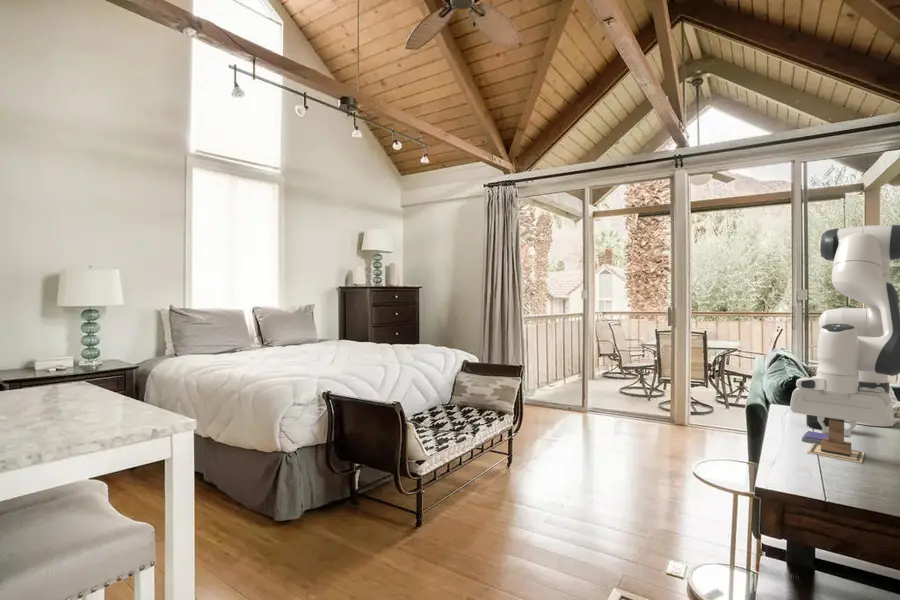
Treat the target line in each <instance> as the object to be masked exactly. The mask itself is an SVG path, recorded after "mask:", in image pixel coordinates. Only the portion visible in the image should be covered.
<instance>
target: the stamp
mask: <svg viewBox="0 0 900 600" xmlns="http://www.w3.org/2000/svg"><path fill="white" fill-rule="evenodd" d="M844 429H845V421H844V420H840V419H833V418H830V419H829V439H828V438H823V439H822V441H821V451H823V452H828V453H833V454H839V455H844V456H849V457H850V455H851V450H852V442H851V441H845V437H843V434H844V433H843V430H844Z"/></svg>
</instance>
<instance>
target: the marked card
mask: <svg viewBox="0 0 900 600" xmlns="http://www.w3.org/2000/svg"><path fill="white" fill-rule="evenodd" d="M810 453H813V454H812V455H815V454H818V455H817V456H821V455H822V457H826V456H827V457H826V458H831V459H837V460H842V461H847V462H852V463H858V464H863V460H864V456H865V452H864V451H859V450H853V449H851V455H850V457H849V456H844V455H839V454H833V453H828V452H823V451H821V444H815V443H811V445H810V447H809V449H808V450H807V454H810Z"/></svg>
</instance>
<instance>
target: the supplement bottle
mask: <svg viewBox="0 0 900 600" xmlns="http://www.w3.org/2000/svg"><path fill="white" fill-rule="evenodd" d="M805 418H806V421H805V422H806V423H805V424H806V426H807V427H808V426H809V427H808V428H812V429H815V428H816V429H817V430H821V431H822V427H821V425H820V424H819V422H818V421H817V416H813V415H806V414H805ZM829 419H830V418H827V417H825V419H824V421H823V422H824V424H825V425H826V426H828V427H829Z"/></svg>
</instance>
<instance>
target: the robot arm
mask: <svg viewBox="0 0 900 600" xmlns="http://www.w3.org/2000/svg"><path fill="white" fill-rule="evenodd" d="M818 251H819V254H820V256H821V258H823V259H825V260H826V261H831V262H832V268H831V284H832V286H833V288H834V289H835V290H836V291H837V292H839V293H840V294H841V295H842V296H845V297H847V298H849V299H851V300H854V301H856V302H859V303H861V304H864V305H866V306H867V307H864V308H863V307H839V308H830V309H825V310H824V311H823V312H822V313H821V315H819V318H818V327H819V332H818V338H817V344H816V358H817V362H818V363H817V365H818V366H817V368H816V375H810V376H805V377H804V376H803V377H800V378H798V379H796V382H795V386H796V388H795V389H793V391H792V394H791V398H790V404H789V405H790V406H789V408H790V409H789V410H790V411H791V412H792V413H794V414H800V415H805V416H806V415H813V416H817V421H818V422H819V424H820V425H821V427H822V430H821V433H824V434H829V427H828V426H826V425H825V424H824V422H823V421H824V419H825V417H827V418H833V419H840V420H844V423H845V422H847V423H848V425H849V427H848V428H846V429H845V428H844V430H843V433H844V434H843V437H844V438H849V439H850V438H852V431H853V430H854V429H855V428H856V427H857V424H858V425H863V426H864V425H865V426H873V427H893V426H894V425H895V424H897V419H895V418H894V408H893V401H892V398H891V396H890V394H889V393H890V389H891V386H890V382H889V381H888V378H889V377H888V376H892V377H894V376H896V375H899V374H900V301H899V296H898V292H897V290H896V287H895V285H893V283H891V278H890V277H891V264H890V263H891V262H890V261H895V260H900V224H899V225H898V224H892V225H878V224H877V225H875V224H874V225H873V224H872V225H869V224H868V225H863V226H861V225H860V226H853V227H845V228H844V227H842V228H838V227H837V228H831V229H828V230H826V231H825V232H824V233H822V234H821V237H820V239H819V241H818Z"/></svg>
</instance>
